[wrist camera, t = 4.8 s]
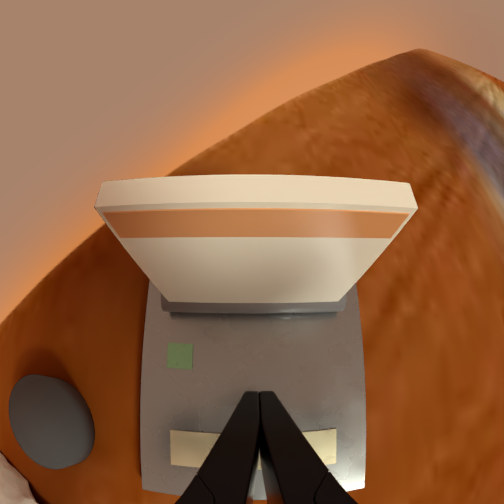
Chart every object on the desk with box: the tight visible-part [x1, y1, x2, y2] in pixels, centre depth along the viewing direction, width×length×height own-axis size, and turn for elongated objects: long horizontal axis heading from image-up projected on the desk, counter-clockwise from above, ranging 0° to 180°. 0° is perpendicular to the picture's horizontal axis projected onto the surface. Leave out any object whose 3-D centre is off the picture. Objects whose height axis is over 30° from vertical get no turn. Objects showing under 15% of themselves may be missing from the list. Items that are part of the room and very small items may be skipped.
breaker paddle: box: [94, 175, 418, 314], centre depth 13 cm, size 2×11×11 cm, turn 90°
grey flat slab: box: [140, 280, 366, 500], centre depth 17 cm, size 16×14×1 cm
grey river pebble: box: [9, 374, 95, 469], centre depth 14 cm, size 7×7×2 cm
